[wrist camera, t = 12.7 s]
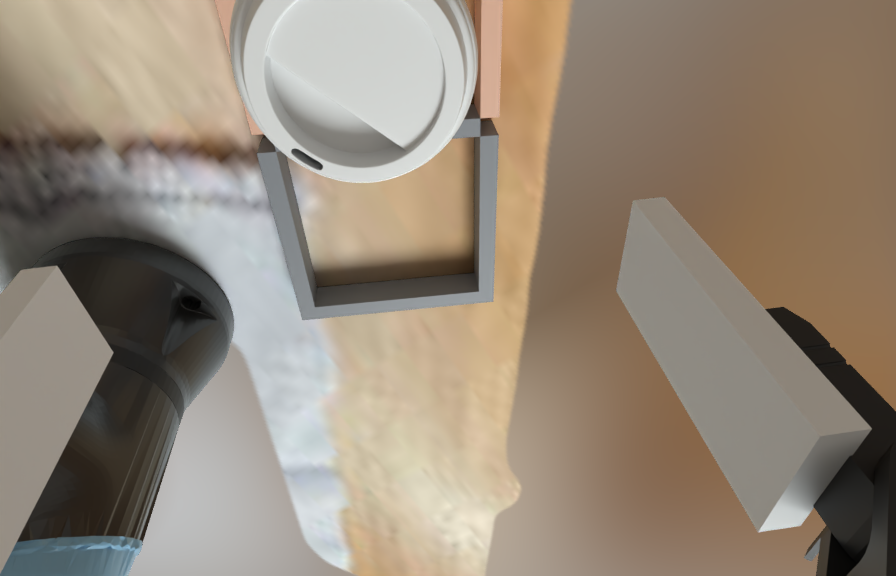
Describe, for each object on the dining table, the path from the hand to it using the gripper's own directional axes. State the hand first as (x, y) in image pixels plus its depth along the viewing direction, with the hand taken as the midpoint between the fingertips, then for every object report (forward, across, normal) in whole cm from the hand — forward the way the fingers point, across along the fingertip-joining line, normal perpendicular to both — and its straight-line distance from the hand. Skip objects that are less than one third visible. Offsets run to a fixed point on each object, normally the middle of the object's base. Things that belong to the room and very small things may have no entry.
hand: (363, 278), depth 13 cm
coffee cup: (+25, 0, +2) cm, 25 cm away
